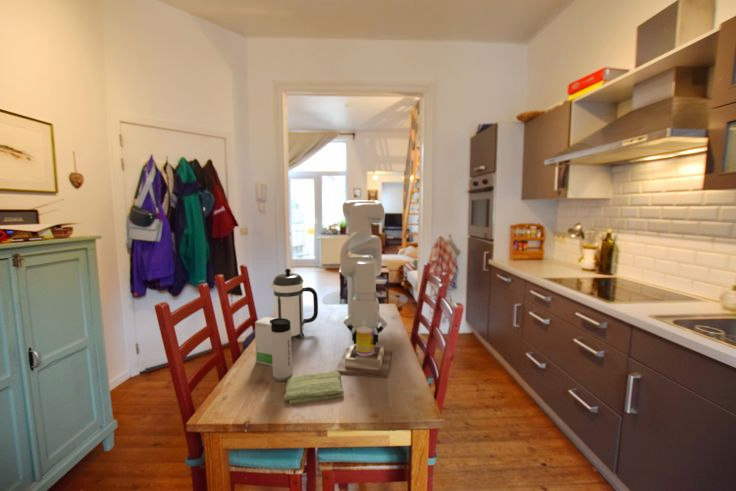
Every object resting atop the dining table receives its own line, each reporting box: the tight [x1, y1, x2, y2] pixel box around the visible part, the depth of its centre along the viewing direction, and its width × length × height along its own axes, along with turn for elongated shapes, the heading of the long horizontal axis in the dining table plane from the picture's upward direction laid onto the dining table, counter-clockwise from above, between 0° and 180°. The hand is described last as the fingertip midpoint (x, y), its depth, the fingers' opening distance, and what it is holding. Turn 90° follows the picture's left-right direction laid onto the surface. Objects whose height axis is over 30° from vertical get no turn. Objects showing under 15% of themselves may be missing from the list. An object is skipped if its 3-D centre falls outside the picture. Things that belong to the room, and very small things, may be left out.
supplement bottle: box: [356, 321, 374, 356], centre depth 118 cm, size 7×7×13 cm
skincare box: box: [254, 316, 276, 367], centre depth 119 cm, size 8×7×16 cm
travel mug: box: [270, 318, 293, 382], centre depth 108 cm, size 6×7×20 cm
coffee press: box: [269, 268, 319, 339], centre depth 142 cm, size 17×16×30 cm
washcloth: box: [283, 370, 344, 405], centre depth 102 cm, size 13×18×3 cm
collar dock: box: [334, 343, 393, 378], centre depth 119 cm, size 18×18×4 cm
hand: (365, 342), depth 118 cm, fingers closed on supplement bottle, 6 cm apart
